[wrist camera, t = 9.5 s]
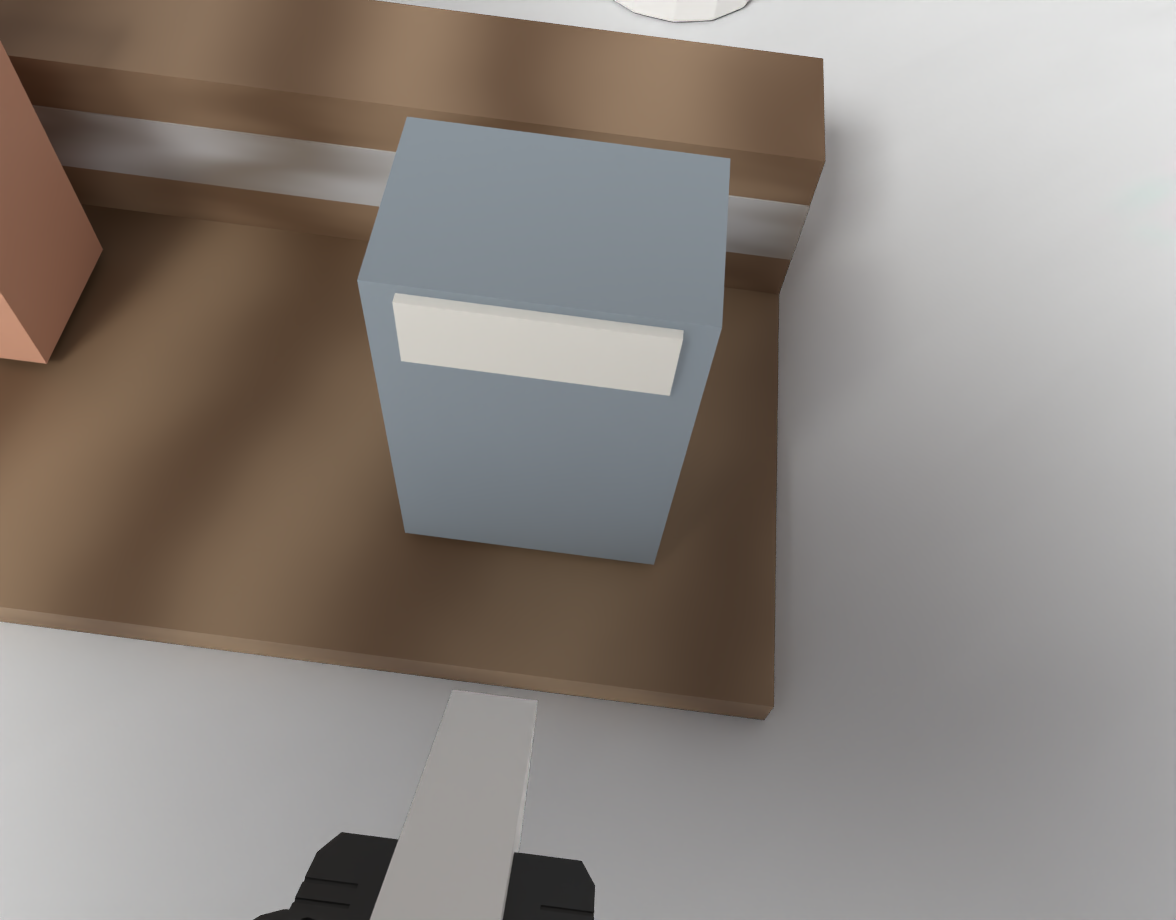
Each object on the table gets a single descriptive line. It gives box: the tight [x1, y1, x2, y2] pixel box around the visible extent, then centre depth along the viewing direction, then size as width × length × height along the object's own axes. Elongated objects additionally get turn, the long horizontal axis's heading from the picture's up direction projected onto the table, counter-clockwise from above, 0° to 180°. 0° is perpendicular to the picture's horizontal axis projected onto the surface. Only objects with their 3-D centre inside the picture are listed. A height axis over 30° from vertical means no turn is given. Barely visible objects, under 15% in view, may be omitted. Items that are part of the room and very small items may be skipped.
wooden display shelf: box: [0, 0, 825, 720], centre depth 25 cm, size 28×16×6 cm, turn 84°
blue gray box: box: [357, 117, 730, 565], centre depth 21 cm, size 6×4×9 cm
